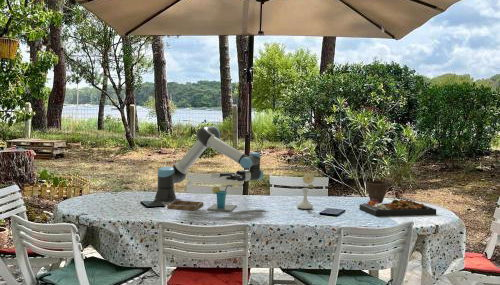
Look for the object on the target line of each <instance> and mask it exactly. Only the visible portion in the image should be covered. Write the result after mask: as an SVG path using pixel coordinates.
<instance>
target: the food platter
mask: <svg viewBox="0 0 500 285" xmlns="http://www.w3.org/2000/svg"><path fill="white" fill-rule="evenodd" d="M369 197H370V196H369V195H368V198H369ZM370 199H371V198H369V200H368V201H367V202H364V203H360V204H359V211H362V212H363V213H366V214H369V215H371V216H373V217H378V218H379V217H405V216H409V217H410V216H413V217H414V216H436V215H437V209H436V208H434V207H430V206H427V205H425V204H424V203H420V202H416V201H413V200H412V199H410V200H409V199H399V200H398V199H395V198H394V199H393V200H392V201H391V202H389V203H384V202H382V203H379V202H378V201H377V200H375V199H372V200H371V201H370ZM375 201H377V202H375Z"/></svg>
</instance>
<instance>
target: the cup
mask: <svg viewBox="0 0 500 285" xmlns="http://www.w3.org/2000/svg"><path fill="white" fill-rule="evenodd" d="M228 187H231V188H232V187H233V185H230V184H227V185H226V187H225V190H220V187H219V186H213V187H212V193H213V194H216V204H217V207H219V208H224V207H225V204H226V197H227V189H228Z"/></svg>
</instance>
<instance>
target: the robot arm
mask: <svg viewBox="0 0 500 285" xmlns="http://www.w3.org/2000/svg"><path fill="white" fill-rule="evenodd" d="M196 138H197V140H196V142H194V143H193V145H192V147H190V149H189V150H188V151H187V152H186V153H185V155H184V156H182V158H181V159H180V160H179V162H174V164H173V166H162V167H160V168H158V170H157V190H156V193H155V196H154V200H155V201H156V200H158V201H157V202H174V201H176V200H177V196H176V192H175V189H174V188H175V187H174V186H175V184H179V183H182V182H183V181H185V179H186V177H187V174H188V173H189V171H188V170H189V169H190V168H191V167H192V165H193V164H194V163H195V162H196V160H198V159H199V157H200V156H201V155H202V154H203V153H204V151H206V150H207V149H208V148H209V149H210V148H212V149H214V150H215V151H217V152H219V153H220V154H222V155H223V156H225V157H227V158H229V159H230V160H233V161H234V162H236V163H238V164H239V165H240V167H241V168H242V169H241V170H237V171H236V172H218V173H211V174H210V178H211V179H212V178H213V179H215V178H219V179H220V178H221V181H237V182H248V181H261V180H262V179H263V177H264V172H263V170H262V169H261V153H259V152H250V153H249V156H248V155H246V154H245V153H244V152H241V151H240V150H238V149H236V148H235V147H234V146H232V145H230V144H228V143H226V142H224V141H223V140H222V139H220V138H221V131H220V130H219V129H218V127H216V126H213V125H211V126H202V127H200V128H199V129H198V130H197V132H196Z"/></svg>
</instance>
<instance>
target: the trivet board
mask: <svg viewBox="0 0 500 285" xmlns="http://www.w3.org/2000/svg"><path fill="white" fill-rule="evenodd" d="M236 208H238V205H237V204H226V203H225V207H224V208H219V207H217V203H214V204H212V205H210V206H209V207H207V208H206V210H207V211H209V212H210V211H212V212H213V211H215V212H230V213H231V212H232V211H233V210H235V209H236Z"/></svg>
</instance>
